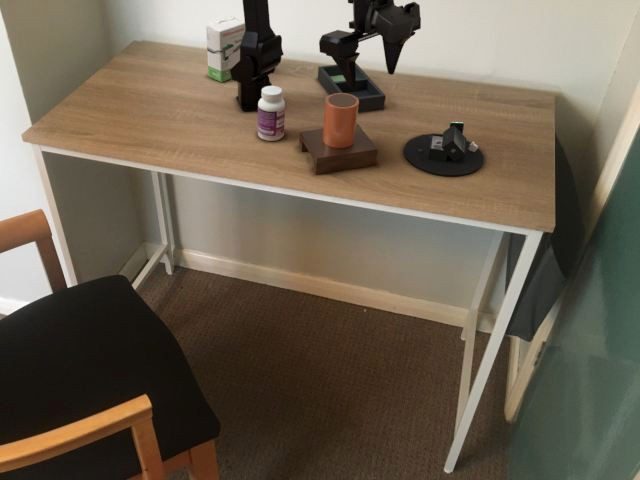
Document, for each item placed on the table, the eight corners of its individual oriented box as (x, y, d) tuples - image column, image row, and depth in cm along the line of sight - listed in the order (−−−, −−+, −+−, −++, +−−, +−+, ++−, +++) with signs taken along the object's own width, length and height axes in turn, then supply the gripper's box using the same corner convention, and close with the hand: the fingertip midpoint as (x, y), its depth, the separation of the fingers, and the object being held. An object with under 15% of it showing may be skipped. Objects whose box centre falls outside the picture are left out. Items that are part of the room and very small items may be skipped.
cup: (328, 150, 112) (332, 109, 107) (317, 134, 116) (321, 94, 111) (359, 145, 113) (364, 105, 108) (347, 130, 117) (351, 90, 112)
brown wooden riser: (315, 174, 113) (316, 158, 110) (299, 147, 120) (299, 131, 117) (375, 165, 115) (378, 149, 112) (355, 139, 122) (357, 123, 119)
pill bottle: (281, 143, 121) (283, 97, 114) (255, 140, 122) (255, 95, 115) (286, 129, 125) (287, 85, 118) (260, 127, 125) (261, 82, 119)
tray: (344, 114, 129) (345, 100, 127) (317, 79, 141) (318, 66, 139) (383, 109, 131) (385, 95, 129) (353, 75, 143) (355, 62, 141)
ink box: (221, 83, 140) (219, 31, 132) (207, 76, 143) (204, 25, 135) (248, 71, 145) (248, 20, 136) (234, 65, 147) (233, 15, 139)
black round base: (482, 181, 111) (490, 155, 107) (399, 169, 114) (404, 143, 110) (483, 141, 121) (490, 115, 117) (407, 131, 124) (412, 106, 120)
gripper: (358, 7, 92) (362, 107, 101) (446, -22, 99) (442, 74, 108) (313, 0, 100) (321, 93, 109) (398, -27, 107) (398, 63, 116)
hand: (372, 81), depth 110 cm, fingers open, 9 cm apart
